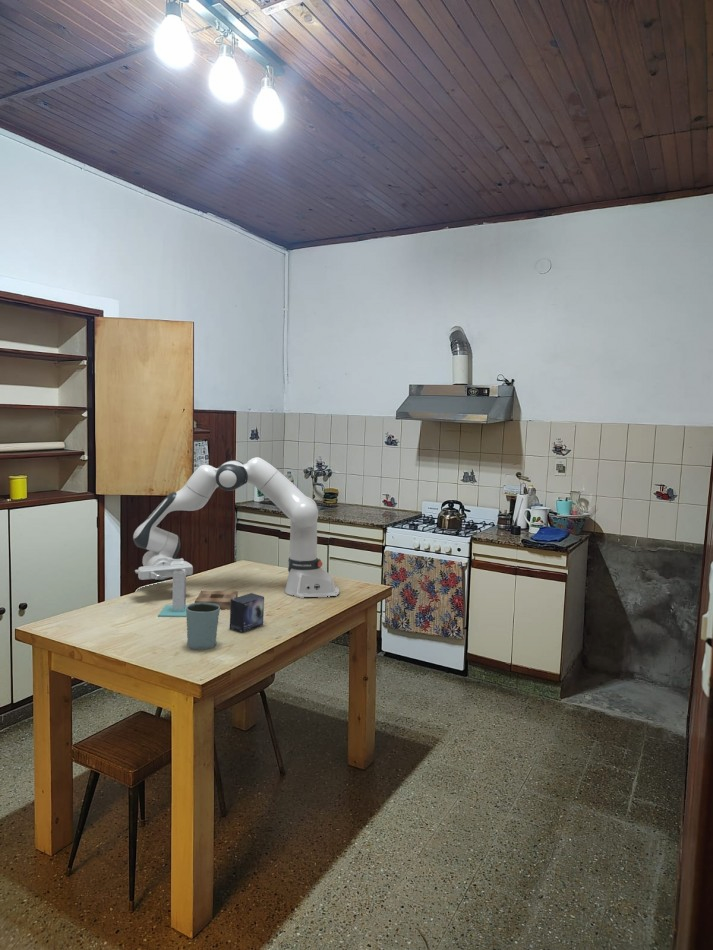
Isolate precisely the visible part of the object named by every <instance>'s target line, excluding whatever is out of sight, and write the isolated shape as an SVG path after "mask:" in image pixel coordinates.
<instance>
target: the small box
mask: <svg viewBox="0 0 713 950" xmlns="http://www.w3.org/2000/svg"><path fill="white" fill-rule="evenodd" d="M264 610H265V596H264V595H260V594H256V593H253V592H250V593H246V594H244V595H240V596H238V597H236V598H233V599H231V605H230V610H229V627H228V628H229V629H228V630H232V631H234V632H238V633H241V634H243V633H244V634H245V633H246V632H249V631H251V630H254V629H257V627H258V628H259V627H263V626H264V615H265V613H264V612H265V611H264Z"/></svg>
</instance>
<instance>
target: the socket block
mask: <svg viewBox="0 0 713 950" xmlns="http://www.w3.org/2000/svg"><path fill="white" fill-rule="evenodd" d="M238 595H239V591H238V590H237V591H235V590H200V593H199V594H198V596H197V597H196V598H195V600H194V603H203V602H205V603H214V604H217V605H219V606H220V609H222V610H223V611H224V610H225V609H227V611H230V605H231V599H233V598H236V597H239V596H238ZM225 611H226V610H225Z"/></svg>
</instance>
